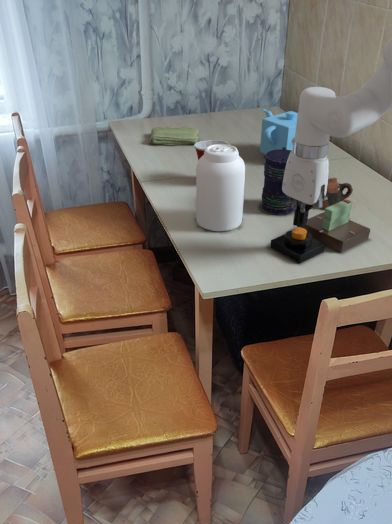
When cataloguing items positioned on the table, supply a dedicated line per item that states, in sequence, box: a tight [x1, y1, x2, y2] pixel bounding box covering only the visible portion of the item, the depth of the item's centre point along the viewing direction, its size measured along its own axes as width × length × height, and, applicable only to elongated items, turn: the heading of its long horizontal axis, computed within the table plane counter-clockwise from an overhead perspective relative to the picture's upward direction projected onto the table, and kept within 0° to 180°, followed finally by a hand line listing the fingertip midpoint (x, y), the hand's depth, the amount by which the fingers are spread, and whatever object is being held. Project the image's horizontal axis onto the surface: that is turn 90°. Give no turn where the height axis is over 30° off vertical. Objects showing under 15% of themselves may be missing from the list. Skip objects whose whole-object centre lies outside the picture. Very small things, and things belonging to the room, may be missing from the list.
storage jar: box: [260, 147, 295, 216], centre depth 149 cm, size 10×10×18 cm
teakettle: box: [259, 108, 298, 155], centre depth 181 cm, size 19×19×15 cm
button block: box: [269, 229, 326, 264], centre depth 135 cm, size 10×9×4 cm
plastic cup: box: [193, 139, 231, 162], centre depth 165 cm, size 11×11×12 cm
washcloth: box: [149, 126, 200, 146], centre depth 198 cm, size 13×18×3 cm
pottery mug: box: [321, 177, 354, 210], centre depth 157 cm, size 12×10×8 cm
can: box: [195, 144, 246, 232], centre depth 142 cm, size 12×12×20 cm
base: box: [300, 211, 371, 253], centre depth 141 cm, size 14×12×3 cm
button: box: [291, 226, 307, 240], centre depth 134 cm, size 4×4×2 cm
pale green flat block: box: [322, 198, 353, 231], centre depth 138 cm, size 8×2×6 cm, turn 130°
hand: (299, 224), depth 132 cm, fingers closed
